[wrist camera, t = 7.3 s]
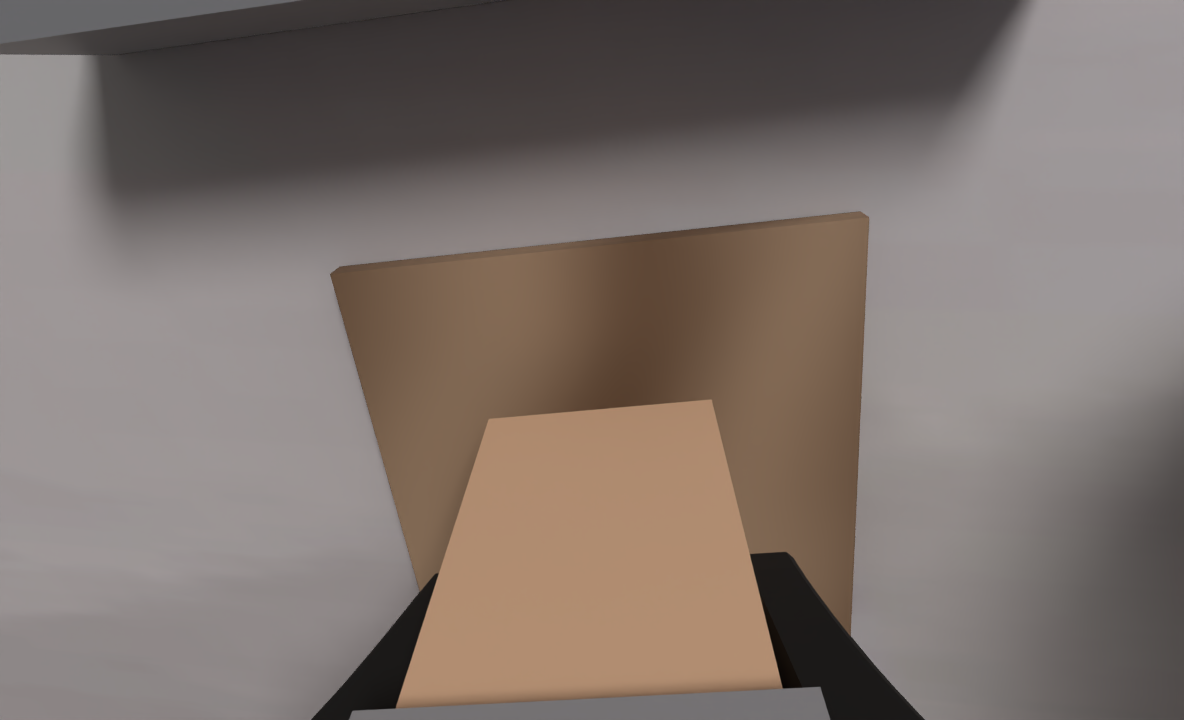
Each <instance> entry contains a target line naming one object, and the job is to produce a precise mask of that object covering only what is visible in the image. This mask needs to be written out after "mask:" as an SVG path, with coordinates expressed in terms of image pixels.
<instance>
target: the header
mask: <svg viewBox="0 0 1184 720" xmlns="http://www.w3.org/2000/svg"><path fill="white" fill-rule="evenodd" d="M497 1H504V0H0V54H29V55H118V54H125V53H133V52H140V51H147V50H154V49H161V48H168V47H175V46H183V45H190V44H197V43H204V42H211V41H218V40H225V39H233V38H240V37H247V36H254V35H261V34H268V33H275V32H283V31H290V30H297V29H304V28H311V27H318V26H326V25H333V24H340V23H347V22H354V21H361V20H368V19H376V18H383V17H390V16H397V15H404V14H411V13H418V12H426V11H433V10H440V9H447V8H454V7H461V6H468V5H476V4H483V3H490V2H497Z"/></svg>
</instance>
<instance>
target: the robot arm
mask: <svg viewBox="0 0 1184 720" xmlns="http://www.w3.org/2000/svg"><path fill="white" fill-rule="evenodd" d="M750 558H751V562H752V566H753V570H754V574H755V578H756V582H757V586H758V590H759V594H760V598H761V602H762V606H763V610H764V614H765V618H766V623H767V627H768V631H769V635H770V639H771V643H772V647H773V651H774V655H775V659H776V663H777V667H778V671H779V675H780V679H781V683H782V688H783V689H788V688H808V687H821V691H822V694H823V697H824V701H825V704H826V707H827V711H828V714H829V717H830V720H925V719H924V718H923V717H922V716H921V715H920V714H919V713H918V712H917V711H916V710H915V709H914V708H913V707H912V706H911V705H910V704H909V703H908V701H907V700H906V699H905V698H904V697H903V696H902V695H901V694H900V693H899V692H898V691H897V690H896V689H895V687H894V686H893V685H892V684H891V683H890V682H889V681H888V680H887V678H886V677H885V676H884V675H883V674H882V673H881V672H880V671H879V669H878V668H877V667H876V666H875V665H874V664H873V662H872V661H871V660H870V659H869V658H868V656H867V655H866V654H865V653H864V652H863V650H862V649H861V648H860V647H859V646H858V644H857V643H856V642H855V641H854V640H853V638H852V637H851V636H850V635H849V634H848V632H847V631H846V630H845V629H844V627H843V626H842V625H841V624H840V622H839V621H838V620H837V619H836V617H835V616H834V615H833V613H832V612H831V611H830V609H829V608H828V607H827V605H826V604H825V603H824V601H823V600H822V599H821V597H820V596H819V595H818V593H817V592H816V591H815V589H814V588H813V586H812V585H811V583H810V582H809V581H808V579H807V578H806V576H805V575H804V573H803V572H802V570H801V569H800V567H799V566H798V564H797V563H796V561H795V559H794V558H793V557H792V556H791V555H790V554H788V553H787V552H772V553H756V554H750ZM438 575H439V573H435V575H434V576H433V577H432V578H431V579H430V580H429V581H428V583H427V584H426V585H425V586H424V588H423V589H422V590H421V591H420V592H419V594H418V595H417V596H416V597H415V599H414V600H413V601H412V602H411V604H410V605H409V606H408V607H407V609H406V610H405V611H404V612H403V614H402V615H401V616H400V617H399V619H398V620H397V621H396V622H395V623H394V625H393V626H392V627H391V628H390V630H389V631H388V632H387V633H386V635H385V636H384V637H383V638H382V639H381V641H380V642H379V643H378V644H377V645H376V647H375V648H374V649H373V650H372V651H371V653H370V654H369V655H368V656H367V657H366V658H365V660H364V661H363V662H362V663H361V664H360V666H359V667H358V668H357V669H356V670H355V671H354V673H353V674H352V675H351V676H350V677H349V679H348V680H347V681H346V682H345V683H344V684H343V685H342V687H341V688H340V689H339V690H338V691H337V692H336V693H335V694H334V695H333V696H332V698H331V699H330V700H329V701H328V702H327V703H326V704H325V705H324V706H323V707H322V708H321V710H320V711H319V712H318V713H317V714H316V715H315V716H314V717H313V718H312V719H311V720H349V719H350V716H351V713H352V711H359V710H378V709H396V705H397V702H398V699H399V696H400V693H401V690H402V687H403V684H404V681H405V677H406V674H407V671H408V668H409V665H410V662H411V659H412V656H413V653H414V650H415V646H416V643H417V640H418V637H419V634H420V631H421V628H422V625H423V622H424V618H425V615H426V612H427V609H428V606H429V603H430V600H431V597H432V594H433V590H434V587H435V584H436V581H437V578H438Z"/></svg>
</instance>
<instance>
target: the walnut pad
mask: <svg viewBox="0 0 1184 720" xmlns="http://www.w3.org/2000/svg"><path fill="white" fill-rule="evenodd" d="M868 232H869V217H868V216H866V215H865V214H863V213H862V212H851V213H842V214H832V215H823V216H813V217H804V218H795V219H785V220H776V221H766V222H757V223H747V224H738V225H728V226H719V227H710V228H700V229H691V230H681V231H672V232H662V233H653V234H643V235H634V236H625V237H615V238H606V239H596V240H587V241H577V242H568V243H559V244H549V245H540V246H530V247H521V248H511V249H502V250H492V251H483V252H474V253H464V254H455V255H445V256H436V257H426V258H417V259H407V260H398V261H389V262H379V263H370V264H360V265H351V266H341V267H339V268H338V269H336V270H335V271H333V272H332V273H331V274H330V276H331V279H332V283H333V286H334V290H335V293H336V297H337V300H338V304H339V307H340V311H341V314H342V318H343V321H344V325H345V329H346V332H347V336H348V339H349V343H350V346H351V350H352V353H353V357H354V360H355V364H356V367H357V371H358V375H359V378H360V382H361V385H362V389H363V392H364V396H365V399H366V403H367V406H368V410H369V413H370V417H371V420H372V424H373V428H374V431H375V435H376V438H377V442H378V445H379V449H380V452H381V456H382V459H383V463H384V466H385V470H386V474H387V477H388V481H389V484H390V488H391V491H392V495H393V498H394V502H395V505H396V509H397V512H398V516H399V519H400V523H401V527H402V530H403V534H404V537H405V541H406V544H407V548H408V551H409V555H410V558H411V562H412V565H413V569H414V572H415V576H416V580H417V583H418V587H419V590H420V591H421V590H422V589H423V588H424V586H425V585H426V584H427V583H428V581H429V580H430V579H431V578H432V577H433V576H434V575H435V573H439V572H440V569H441V566H442V563H443V559H444V556H445V553H446V550H447V547H448V544H449V541H450V538H451V535H452V531H453V528H454V525H455V522H456V519H457V516H458V513H459V510H460V507H461V504H462V500H463V497H464V494H465V491H466V488H467V485H468V482H469V479H470V476H471V472H472V469H473V466H474V463H475V460H476V457H477V454H478V451H479V448H480V444H481V441H482V438H483V435H484V432H485V429H486V426H487V423H488V420H489V419H493V418H505V417H516V416H528V415H539V414H551V413H562V412H574V411H585V410H597V409H608V408H620V407H631V406H642V405H654V404H665V403H677V402H688V401H700V400H711V399H712V403H713V407H714V411H715V415H716V419H717V423H718V428H719V432H720V436H721V440H722V444H723V448H724V452H725V456H726V460H727V464H728V468H729V472H730V476H731V480H732V484H733V488H734V493H735V497H736V501H737V505H738V509H739V513H740V517H741V521H742V525H743V529H744V533H745V537H746V541H747V545H748V549H749V553H750V554H756V553H772V552H787V553H788V554H790V555H791V556H792V557H793V558H794V559H795V561H796V563H797V564H798V566H799V567H800V569H801V570H802V572H803V573H804V575H805V576H806V578H807V579H808V581H809V582H810V583H811V585H812V586H813V588H814V589H815V591H816V592H817V593H818V595H819V596H820V597H821V599H822V600H823V601H824V603H825V604H826V605H827V607H828V608H829V609H830V611H831V612H832V613H833V615H834V616H835V617H836V619H837V620H838V621H839V622H840V624H841V625H842V626H843V627H844V629H845V630H846V631H847V632H848V634H849V635H850V636H851V614H852V592H853V569H854V547H855V524H856V502H857V479H858V457H859V434H860V412H861V389H862V367H863V345H864V322H865V300H866V277H867V255H868Z"/></svg>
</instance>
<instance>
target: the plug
mask: <svg viewBox="0 0 1184 720" xmlns="http://www.w3.org/2000/svg"><path fill="white" fill-rule="evenodd" d="M349 720H830V717H829V714H828V711H827V707H826V704H825V701H824V697H823V694H822V691H821V687H808V688H788V689H783V688H782V683H781V679H780V675H779V671H778V667H777V663H776V659H775V655H774V651H773V647H772V643H771V639H770V635H769V631H768V627H767V623H766V618H765V614H764V610H763V606H762V602H761V598H760V594H759V590H758V586H757V582H756V578H755V574H754V570H753V566H752V562H751V558H750V553H749V549H748V545H747V541H746V537H745V533H744V529H743V525H742V521H741V517H740V513H739V509H738V505H737V501H736V497H735V493H734V488H733V484H732V480H731V476H730V472H729V468H728V464H727V460H726V456H725V452H724V448H723V444H722V440H721V436H720V432H719V428H718V423H717V419H716V415H715V411H714V407H713V403H712V399H711V400H700V401H688V402H677V403H665V404H654V405H642V406H631V407H620V408H608V409H597V410H585V411H574V412H562V413H551V414H539V415H528V416H516V417H505V418H493V419H489V420H488V423H487V426H486V429H485V432H484V435H483V438H482V441H481V444H480V448H479V451H478V454H477V457H476V460H475V463H474V466H473V469H472V472H471V476H470V479H469V482H468V485H467V488H466V491H465V494H464V497H463V500H462V504H461V507H460V510H459V513H458V516H457V519H456V522H455V525H454V528H453V531H452V535H451V538H450V541H449V544H448V547H447V550H446V553H445V556H444V559H443V563H442V566H441V569H440V572H439V575H438V578H437V581H436V584H435V587H434V590H433V594H432V597H431V600H430V603H429V606H428V609H427V612H426V615H425V618H424V622H423V625H422V628H421V631H420V634H419V637H418V640H417V643H416V646H415V650H414V653H413V656H412V659H411V662H410V665H409V668H408V671H407V674H406V677H405V681H404V684H403V687H402V690H401V693H400V696H399V699H398V702H397V705H396V709H378V710H359V711H352V713H351V716H350V719H349Z"/></svg>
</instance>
